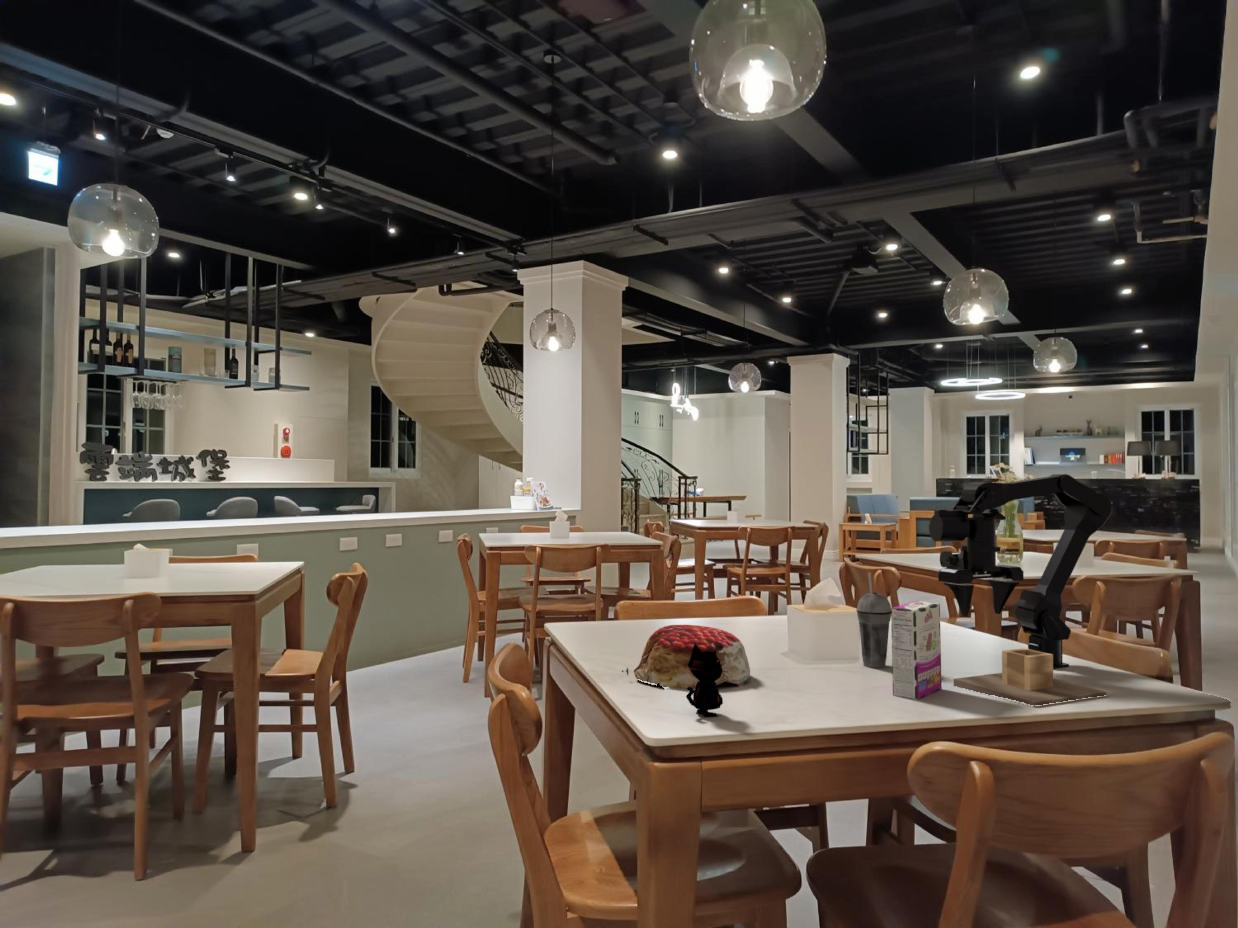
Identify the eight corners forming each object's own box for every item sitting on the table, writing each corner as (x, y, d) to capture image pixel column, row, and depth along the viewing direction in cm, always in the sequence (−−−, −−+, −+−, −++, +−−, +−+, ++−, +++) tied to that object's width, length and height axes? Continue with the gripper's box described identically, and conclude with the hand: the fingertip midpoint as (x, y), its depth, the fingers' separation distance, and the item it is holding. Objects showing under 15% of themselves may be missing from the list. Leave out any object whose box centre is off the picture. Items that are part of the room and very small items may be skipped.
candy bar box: (916, 685, 157) (916, 600, 157) (942, 690, 153) (941, 602, 153) (890, 696, 148) (889, 606, 149) (917, 701, 145) (916, 609, 145)
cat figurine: (734, 720, 133) (734, 647, 133) (700, 727, 130) (700, 651, 130) (709, 710, 139) (709, 640, 139) (675, 715, 136) (676, 644, 136)
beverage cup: (899, 667, 171) (899, 572, 172) (871, 670, 168) (871, 574, 169) (876, 660, 178) (876, 569, 178) (849, 663, 175) (849, 570, 176)
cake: (608, 673, 166) (608, 625, 167) (704, 660, 179) (704, 615, 179) (672, 700, 147) (672, 644, 147) (775, 682, 159) (775, 631, 159)
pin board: (1021, 677, 163) (1021, 645, 163) (1106, 700, 146) (1106, 663, 146) (953, 686, 156) (953, 652, 156) (1034, 711, 139) (1034, 672, 139)
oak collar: (1025, 679, 155) (1025, 648, 155) (1053, 687, 149) (1052, 654, 149) (1002, 682, 152) (1002, 650, 153) (1029, 690, 147) (1029, 657, 147)
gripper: (983, 537, 183) (983, 607, 183) (919, 539, 176) (919, 612, 176) (1025, 541, 173) (1025, 614, 173) (958, 543, 166) (959, 620, 166)
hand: (981, 615), depth 172 cm, fingers open, 9 cm apart
